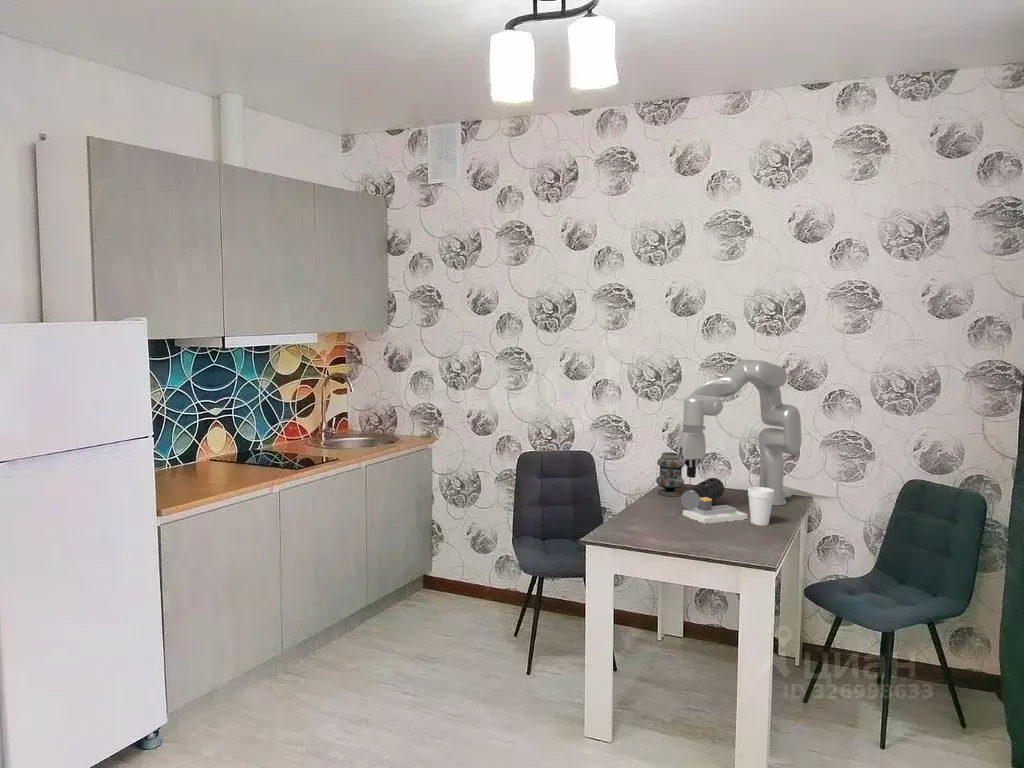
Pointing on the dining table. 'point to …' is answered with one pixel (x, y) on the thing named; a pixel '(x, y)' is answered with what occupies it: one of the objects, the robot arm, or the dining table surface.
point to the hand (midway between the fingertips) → (691, 476)
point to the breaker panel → (715, 514)
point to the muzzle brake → (701, 493)
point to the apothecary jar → (670, 474)
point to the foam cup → (760, 504)
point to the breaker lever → (705, 503)
